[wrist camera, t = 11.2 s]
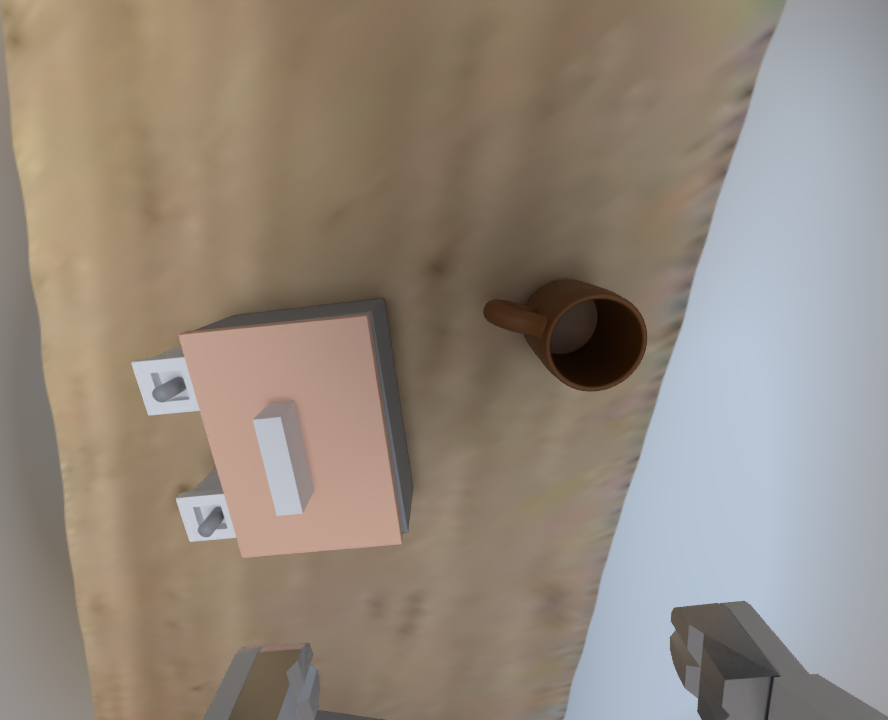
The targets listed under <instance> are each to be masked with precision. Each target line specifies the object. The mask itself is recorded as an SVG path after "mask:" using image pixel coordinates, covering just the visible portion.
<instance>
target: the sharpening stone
mask: <svg viewBox="0 0 888 720" xmlns="http://www.w3.org/2000/svg"><path fill="white" fill-rule="evenodd" d="M315 720H383V719H376V718H369V717H362V716H355V715H348V714H341V713H335V712H328V711H321V710H317V713H316V717H315Z"/></svg>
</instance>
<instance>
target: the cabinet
mask: <svg viewBox="0 0 888 720" xmlns="http://www.w3.org/2000/svg"><path fill="white" fill-rule="evenodd" d="M367 313H369V314H370V320H371V327H372V334H373V340H374V347H375V353H376V360H377V366H378V373H379V380H380V386H381V393H382V399H383V406H384V413H385V419H386V426H387V432H388V439H389V446H390V452H391V459H392V465H393V472H394V479H395V485H396V492H397V498H398V505H399V512H400V518H401V525H402V531H403V533H408V528H409V520H410V511H411V502H412V493H413V483H412V477H411V470H410V464H409V457H408V451H407V444H406V438H405V431H404V425H403V418H402V412H401V405H400V399H399V392H398V386H397V379H396V373H395V366H394V360H393V353H392V347H391V340H390V334H389V327H388V321H387V314H386V308H385V301H384V298H380V299H371V300H363V301H354V302H345V303H336V304H328V305H319V306H310V307H301V308H293V309H284V310H275V311H266V312H258V313H249V314H240V315H233V316H231V317H228V318H225V319H223V320H220V321H218V322H215V323H212V324H210V325H207V326H205V327H202V328H199V329H197V330H206V329H216V328H226V327H236V326H246V325H256V324H266V323H276V322H286V321H296V320H306V319H316V318H326V317H337V316H347V315H357V314H367ZM194 331H196V330H194ZM178 355H184V354H183V350H182V347H181V346H179V347H177V348H174V349H172V350H169V351H167V352H165V353H162V354H160V355H158V356H155V357H153V358H158V357H168V356H178ZM158 374H159V377H160V381H161V384H162V385H160V386H158V387H156V388H155V389H154V390H153V391H152V396H153V398H154V399H155V400H156V401H158V402H166V401H167V400H169V399H171V398H177V397H187V396H189V395H188V392H187V388H186V385H185V382H184V378H183V375H182V371H181V370H179V371H169V372H159V373H158ZM216 489H222V486H221V482H220V479H219V475H218V472H217V468H216V467H215V469H214V470H213V471H212V472H211V473H210V474H209V475H208V476H207V477H206V478H205V479H204V480H203V481H202V482H201V483H200V484H199V485H198V486H197V487H196V488H195V489H194V490H193V491H192V492H194V491H205V490H216ZM200 509H201V513H202V516H203V519H204V521H203V523H202V524H201V525H200V526H199V527H198V533H199V534H200V535H201V536H203V537H210V536H211V535H212V534H213V532H214V531H215V530H216V529H217V527H218V526H219V525H220V523H226V522H225V518H224V515H223V511H222V508H221V505H211V506H200Z"/></svg>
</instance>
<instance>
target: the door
mask: <svg viewBox="0 0 888 720" xmlns="http://www.w3.org/2000/svg"><path fill="white" fill-rule="evenodd" d="M178 337H179V340H180V343H181V347H182V350H183V354H184V355H178V356H168V357H158V358H147V359H138V360H136V361H133V362H131V364H132V367H133V370H134V373H135V376H136V379H137V382H138V385H139V388H140V391H141V394H142V397H143V400H144V403H145V407H146V410H147V413H148V415H159V414H169V413H180V412H190V411H200V413H201V416H202V420H203V423H204V427H205V430H206V434H207V437H208V441H209V444H210V448H211V451H212V455H213V458H214V462H215V465H216V468H217V472H218V475H219V479H220V482H221V486H222V489H216V490H205V491H194V492H183V493H180V494H179V495H178V496H177V497H176V501H177V504H178V507H179V510H180V514H181V517H182V520H183V523H184V526H185V529H186V532H187V535H188V538H189V541H190V542H192V541H204V540H215V539H227V538H237V541H238V545H239V548H240V552H241V555H242V558H245V557H257V556H268V555H280V554H292V553H303V552H315V551H326V550H338V549H350V548H361V547H373V546H384V545H396V544H402V538H403V531H402V525H401V518H400V512H399V505H398V498H397V492H396V485H395V479H394V472H393V465H392V459H391V452H390V446H389V439H388V432H387V426H386V419H385V413H384V406H383V399H382V393H381V386H380V380H379V373H378V366H377V360H376V353H375V347H374V340H373V334H372V327H371V320H370V314H369V313H367V314H357V315H347V316H337V317H326V318H316V319H306V320H296V321H286V322H276V323H266V324H256V325H246V326H236V327H226V328H216V329H206V330H196V331H187V332H184V333H182V334H179V335H178ZM179 370H181V371H182V375H183V378H184V382H185V385H186V388H187V392H188V395H189V396H187V397H177V398H171V399H169V400H167V401H166V402H158V401H156V400H155V399H154V398H153V396H152V391H153V390H154V389H155V388H156V387H158V386H160V385H162V384H161V381H160V377H159V374H158V373H159V372H169V371H179ZM211 505H221V508H222V511H223V515H224V518H225V522H226V523H220V525H219V526H218V527H217V529H216V530H215V531H214V532H213V534H212V535H211V536H210V537H203V536H201V535H200V534H199V533H198V527H199V526H200V525H201V524H202V523H203V521H204V519H203V516H202V513H201V509H200V506H211Z"/></svg>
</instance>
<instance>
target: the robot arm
mask: <svg viewBox="0 0 888 720" xmlns="http://www.w3.org/2000/svg"><path fill="white" fill-rule="evenodd" d="M671 622H672V624H673V625H674V627H675V629H676V631H675V632H674V633H673V634H672V635H671V637H670V651H671V655H672V660H673V664H674V666H675V669H676V671H677V673H678V676H679V678H680V680H681V682H682V683H683V686H684V687H685V688H686V689H687V690H688V691H689V692H690V693H692V694H693V695H694V696H696V697H697V698H698V710H697V712H698V713H699V715H700V717H701V719H702V720H888V717H887V716H886V715H884V714H882V713H881V712H879V711H877V710H876V709H874V708H872V707H871V706H869V705H868V704H866V703H864V702H863V701H861V700H859V699H858V698H856V697H854V696H853V695H851V694H850V693H848V692H846V691H845V690H843V689H841V688H840V687H838V686H836V685H835V684H833V683H831V682H830V681H828V680H826V679H825V678H823V677H822V676H820V675H818V674H809V673H808V672H807V671H806V670H805V669H804V667H803V666H802V665H801V664H800V663H799V661H798V660H797V659H796V658H795V657H794V655H793V654H792V653H791V652H790V651H789V650H788V648H787V647H786V646H785V645H784V644H783V642H782V641H781V640H780V639H779V638H778V637H777V636H776V634H775V633H774V632H773V631H772V630H771V628H770V627H769V626H768V625H767V624H766V623H765V621H764V620H763V619H762V618H761V617H760V615H759V614H758V613H757V612H756V611H755V610H754V608H753V607H752V606H751V605H750V604H748V603H747V602H745V601H738V602H728V603H720V604H718V603H714V604H704V605H695V606H686V607H676V608H674V609H673V611H672V614H671ZM312 657H313V652H312V649H311V646H310V643H300V644H284V645H268V646H256V647H243V648H241V649H240V650H239V651H238V652H237V653H236V655H235V656H234V658H233V660H232V662H231V664H230V666H229V668H228V670H227V672H226V674H225V676H224V678H223V680H222V682H221V684H220V686H219V688H218V690H217V692H216V694H215V696H214V698H213V700H212V702H211V704H210V707H209V709H208V711H207V713H206V715H205V717H204V719H203V720H315V717H316V713H317V709H318V705H319V695H320V681H319V675H318V671H317V669H316V668H315V667H314V666H312V665H311V664H310V663H311V660H312Z"/></svg>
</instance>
